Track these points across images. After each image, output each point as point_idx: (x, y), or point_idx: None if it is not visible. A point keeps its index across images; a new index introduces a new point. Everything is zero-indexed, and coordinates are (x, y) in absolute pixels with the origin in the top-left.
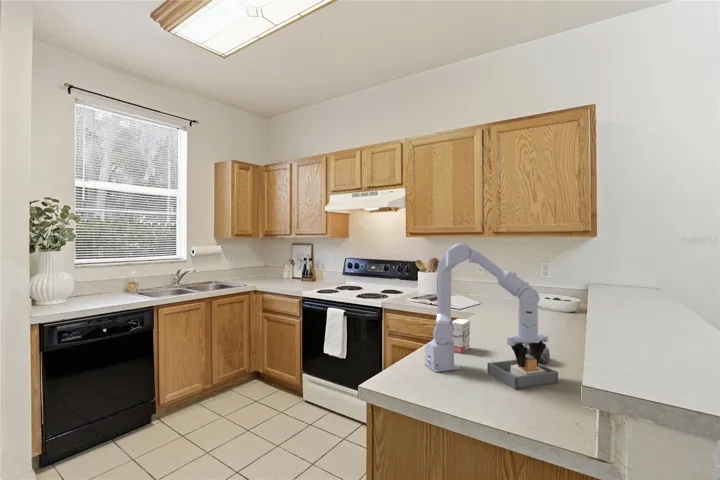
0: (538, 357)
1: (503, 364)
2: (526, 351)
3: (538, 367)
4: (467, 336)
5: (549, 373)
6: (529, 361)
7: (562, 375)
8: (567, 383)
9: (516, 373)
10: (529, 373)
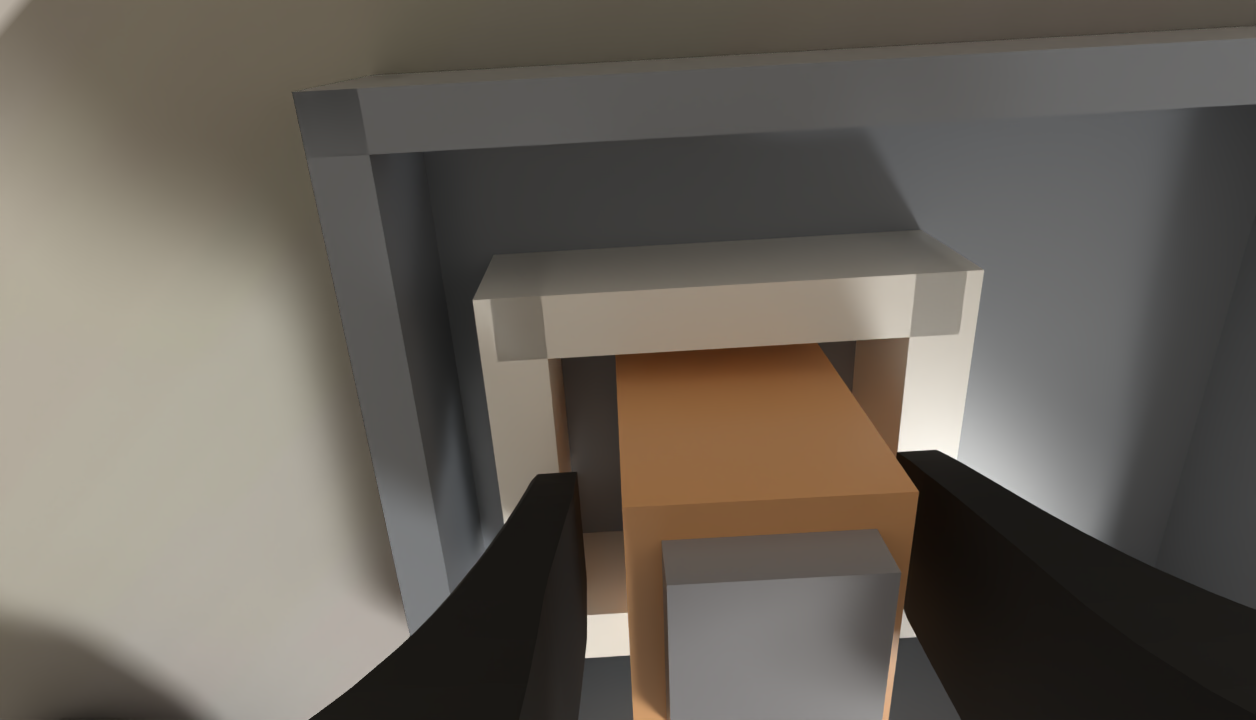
0: (537, 566)
1: None
2: (1203, 678)
3: (502, 468)
4: None
5: (568, 75)
6: (861, 482)
7: (67, 345)
8: (191, 28)
9: None
10: (908, 270)
